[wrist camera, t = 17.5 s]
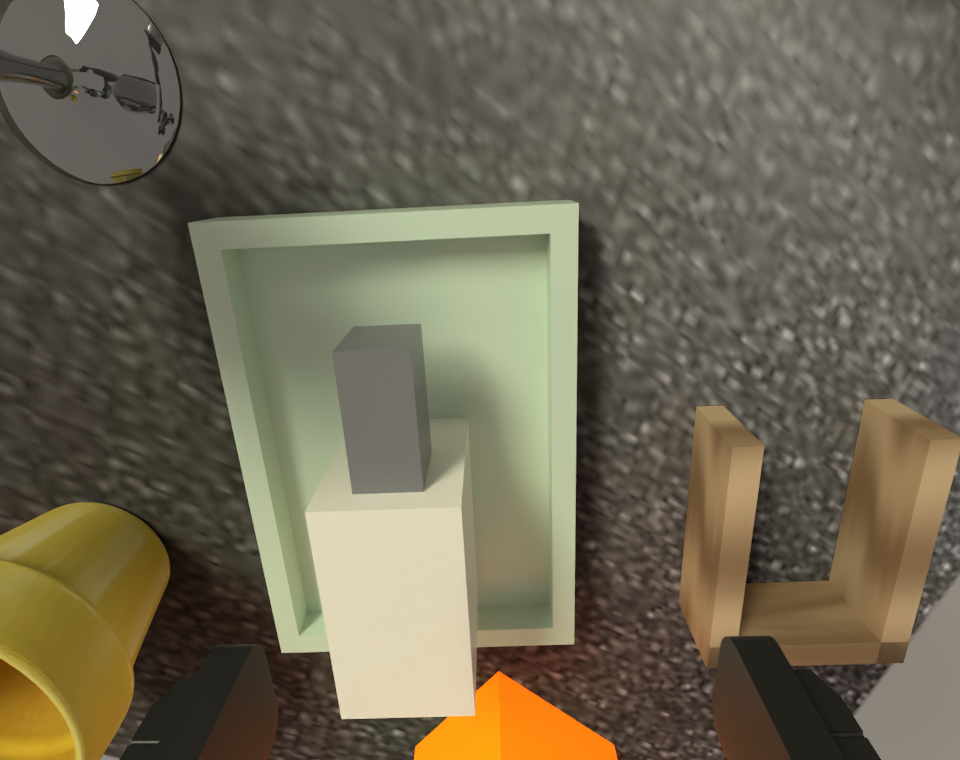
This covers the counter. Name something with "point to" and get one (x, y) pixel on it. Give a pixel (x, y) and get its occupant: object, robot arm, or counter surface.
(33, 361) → the counter surface
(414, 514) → the cream and grey blocks
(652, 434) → the counter surface
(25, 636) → the plant pot
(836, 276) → the counter surface
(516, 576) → the tray
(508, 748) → the orange juice
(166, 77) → the wine glass
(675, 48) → the counter surface
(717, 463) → the dock
